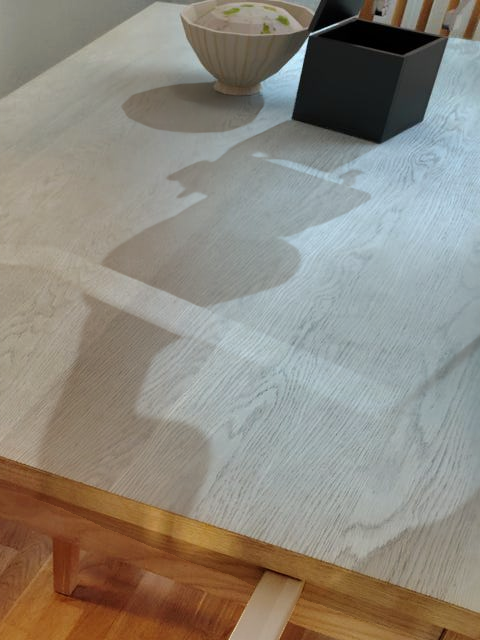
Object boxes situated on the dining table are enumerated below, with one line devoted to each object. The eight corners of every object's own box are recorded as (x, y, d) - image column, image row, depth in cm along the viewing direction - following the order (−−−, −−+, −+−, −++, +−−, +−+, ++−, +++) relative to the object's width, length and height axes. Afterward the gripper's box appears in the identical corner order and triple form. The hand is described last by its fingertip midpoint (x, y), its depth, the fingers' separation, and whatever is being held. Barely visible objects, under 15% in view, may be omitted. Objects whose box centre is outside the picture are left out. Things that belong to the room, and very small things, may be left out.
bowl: (172, 64, 138) (181, -14, 131) (300, 68, 136) (317, -11, 129) (169, 107, 126) (179, 23, 118) (310, 113, 124) (329, 28, 116)
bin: (423, 120, 121) (449, 37, 114) (380, 143, 116) (404, 57, 109) (335, 97, 128) (354, 17, 120) (291, 118, 122) (308, 35, 115)
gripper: (356, -130, 104) (326, 11, 114) (530, -109, 94) (480, 43, 105) (384, -137, 107) (352, 2, 117) (555, -118, 97) (504, 32, 107)
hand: (413, 22), depth 111 cm, fingers open, 8 cm apart
